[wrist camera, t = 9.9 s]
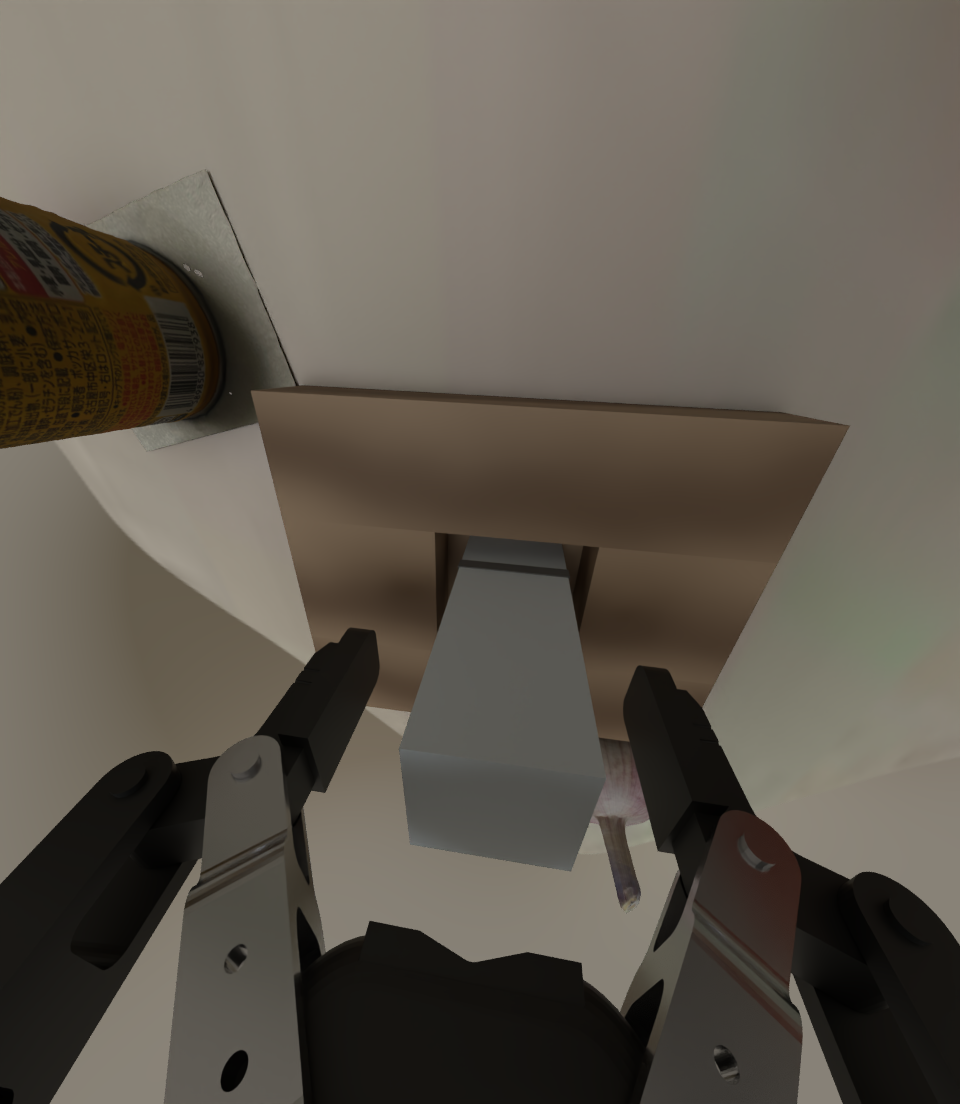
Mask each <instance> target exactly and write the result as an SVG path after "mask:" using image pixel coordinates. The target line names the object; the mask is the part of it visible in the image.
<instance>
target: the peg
mask: <svg viewBox="0 0 960 1104" xmlns="http://www.w3.org/2000/svg"><path fill="white" fill-rule="evenodd" d="M569 579H570V575H569V570H567V569H566V563H565V558H564V553H563V548H562V544H558V543H547V542H536V541H525V540H514V539H503V538H492V537H481V536H470V537H469V540H468V543H467V546H466V549H465V552H464V555H463V558H462V559H460V562H459V565H458V573H457V576H456V579H455V582H454V585H453V588H452V591H451V594H450V597H449V600H448V603H447V606H446V609H445V612H444V615H443V618H442V621H441V624H440V627H439V630H438V633H437V636H436V639H435V642H434V645H433V648H432V651H431V654H430V657H429V660H428V663H427V666H426V669H425V672H424V675H423V678H422V681H421V684H420V687H419V690H418V693H417V696H416V699H415V702H414V705H413V708H412V711H411V714H410V717H409V720H408V723H407V726H406V729H405V732H404V735H403V738H402V741H401V744H400V747H399V752H400V761H401V770H402V778H403V786H404V796H405V804H406V813H407V822H408V830H409V838H410V844H411V845H417V846H422V847H428V848H434V849H441V850H446V851H452V852H458V853H464V854H470V855H476V856H482V857H488V858H494V859H500V860H506V861H512V862H518V863H523V864H529V865H535V866H541V867H547V868H553V869H559V870H565V871H571V870H572V867H573V864H574V862H575V859H576V856H577V854H578V851H579V849H580V846H581V843H582V841H583V838H584V836H585V833H586V830H587V828H588V825H589V823H590V820H591V817H592V815H593V812H594V809H595V807H596V804H597V802H598V799H599V796H600V794H601V791H602V788H603V786H604V783H605V781H606V774H605V769H604V764H603V758H602V753H601V748H600V743H599V737H598V732H597V727H596V722H595V716H594V711H593V706H592V700H591V695H590V690H589V685H588V679H587V674H586V669H585V664H584V658H583V653H582V648H581V642H580V637H579V632H578V627H577V621H576V616H575V611H574V606H573V600H572V595H571V590H570V584H569Z"/></svg>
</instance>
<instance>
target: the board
mask: <svg viewBox="0 0 960 1104" xmlns="http://www.w3.org/2000/svg"><path fill="white" fill-rule="evenodd" d="M251 394H252V398H253V402H254V406H255V410H256V414H257V418H258V422H259V426H260V430H261V434H262V438H263V442H264V446H265V451H266V455H267V459H268V463H269V467H270V471H271V475H272V479H273V483H274V487H275V491H276V495H277V499H278V503H279V507H280V511H281V515H282V519H283V523H284V527H285V531H286V535H287V539H288V543H289V547H290V551H291V555H292V559H293V563H294V567H295V571H296V575H297V579H298V583H299V587H300V591H301V595H302V599H303V603H304V607H305V611H306V615H307V619H308V623H309V627H310V631H311V635H312V639H313V643H314V647H315V651H316V652H317V651H319V650H320V649H321V648H323V647H324V646H325V645H327V644H328V643H329V642H334V643H338V642H339V641H340V639H341V638H342V636H343V635H344V633H345V632H346V631H347V629H348V628H350V627H352V628H360V629H368V630H374V631H375V633H376V638H377V646H378V654H379V662H380V670H379V676H378V680H377V683H376V685H375V687H374V689H373V692H372V694H371V696H370V698H369V700H368V702H367V704H366V706H370V707H377V708H385V709H392V710H399V711H407V712H411V711H412V708H413V705H414V702H415V699H416V696H417V693H418V690H419V687H420V684H421V681H422V678H423V675H424V672H425V669H426V666H427V663H428V660H429V657H430V654H431V651H432V648H433V645H434V642H435V639H436V636H437V633H438V630H439V627H440V624H441V621H442V618H443V615H444V612H445V609H446V606H447V603H448V600H449V597H450V594H451V591H452V588H453V585H454V582H455V579H456V576H457V573H458V565H459V562H460V559H462V558H463V555H464V552H465V549H466V546H467V543H468V540H469V537H470V536H481V537H492V538H503V539H514V540H525V541H536V542H547V543H558V544H562V548H563V553H564V558H565V563H566V569H567V570H569V575H570V579H569V584H570V590H571V595H572V600H573V606H574V611H575V616H576V621H577V627H578V632H579V637H580V642H581V648H582V653H583V658H584V664H585V669H586V674H587V679H588V685H589V690H590V695H591V700H592V706H593V711H594V716H595V722H596V727H597V732H598V737H599V738H606V739H613V740H621V741H628V742H629V738H628V734H627V730H626V726H625V722H624V717H623V702H624V698H625V695H626V693H627V690H628V688H629V685H630V682H631V680H632V677H633V675H634V672H635V670H636V668H637V666H639V665H642V666H649V667H657V668H665V669H667V670H668V671H669V672H670V674H671V676H672V678H673V681H674V683H675V685H676V687H677V689H681V690H687V691H688V693H689V694H690V695H691V696H692V697H693V698H694V699H695V700H696V701H697V702H698V704H699V705H700V706H701V707H703V705H704V703H705V701H706V699H707V697H708V695H709V693H710V691H711V689H712V687H713V686H714V684H715V682H716V680H717V678H718V676H719V674H720V672H721V670H722V668H723V667H724V665H725V663H726V661H727V659H728V657H729V655H730V653H731V651H732V649H733V647H734V646H735V644H736V642H737V640H738V638H739V636H740V634H741V632H742V630H743V628H744V627H745V625H746V623H747V621H748V619H749V617H750V615H751V613H752V611H753V609H754V607H755V606H756V604H757V602H758V600H759V598H760V596H761V594H762V592H763V590H764V588H765V587H766V585H767V583H768V581H769V579H770V577H771V575H772V573H773V571H774V569H775V568H776V566H777V564H778V562H779V560H780V558H781V556H782V554H783V552H784V550H785V548H786V547H787V545H788V543H789V541H790V539H791V537H792V535H793V533H794V531H795V529H796V528H797V526H798V524H799V522H800V520H801V518H802V516H803V514H804V512H805V510H806V508H807V507H808V505H809V503H810V501H811V499H812V497H813V495H814V493H815V491H816V489H817V488H818V486H819V484H820V482H821V480H822V478H823V476H824V474H825V472H826V470H827V468H828V467H829V465H830V463H831V461H832V459H833V457H834V455H835V453H836V451H837V449H838V448H839V446H840V444H841V442H842V440H843V438H844V436H845V434H846V432H847V430H848V428H849V427H850V426H848V425H843V424H838V423H833V422H828V421H823V420H818V419H812V418H807V417H802V416H797V415H792V414H787V413H781V412H763V411H746V410H728V409H710V408H693V407H675V406H657V405H640V404H622V403H604V402H587V401H569V400H551V399H534V398H516V397H498V396H481V395H463V394H445V393H428V392H410V391H392V390H375V389H357V388H339V387H322V386H304V385H302V386H292V387H282V388H272V389H262V390H252V391H251Z"/></svg>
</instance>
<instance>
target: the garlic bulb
mask: <svg viewBox="0 0 960 1104" xmlns="http://www.w3.org/2000/svg"><path fill="white" fill-rule="evenodd" d="M599 743H600V748H601V753H602V758H603V764H604V769H605V774H606V781H605V783H604V786H603V788H602V791H601V794H600V796H599V799H598V802H597V804H596V807H595V809H594V812H593V815H592V817H591V820H590V823H595V824H599V825H600V828H601V831H602V834H603V838H604V842H605V846H606V849H607V853H608V857H609V861H610V865H611V870H612V874H613V878H614V882H615V887H616V890H617V896H618V899H619V902H620V906H621V908H622V909H623V910H624V911H625V912H626V913H628V912H630V911H632V910H633V909H635V908H636V907H637V905H638V904H639V901H640V896H641V891H640V887H639V883H638V881H637V878H636V874H635V870H634V867H633V863H632V859H631V855H630V851H629V848H628V844H627V840H626V835H625V827H626V826H629V825H634V824H639V823H643V822H645V821H647V820H648V819H649V815H648V811H647V807H646V803H645V799H644V796H643V792H642V788H641V784H640V780H639V776H638V772H637V769H636V765H635V761H634V757H633V753H632V749H631V745H630V742H628V741H621V740H613V739H606V738H599Z"/></svg>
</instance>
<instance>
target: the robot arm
mask: <svg viewBox="0 0 960 1104" xmlns="http://www.w3.org/2000/svg"><path fill="white" fill-rule="evenodd" d="M379 670H380V662H379V654H378V646H377V638H376V633H375V631H374V630H368V629H360V628H352V627H350V628H348V629H347V631H346V632H345V633H344V635H343V636H342V638H341V639H340V641H339V642H338V643H334V642H329V643H328V644H327V645H325V646H324V647H323V648H321V649H320V650H319V651H317V652H316V653H315V654H314V655H313V656H312V658H311V659H310V661H309V662H308V663H307V665H306V666H305V667H304V671H302V672H301V673H300V674H299V676H298V677H297V679H296V681H295V683H293V684H292V685H291V687H290V688H289V690H288V691H287V692H286V694H285V695H284V697H283V698H282V699H281V701H280V702H279V704H278V705H277V706H276V708H275V709H274V710H273V712H272V713H271V715H270V716H269V717H268V719H267V720H266V721H265V723H264V724H263V726H262V727H261V728H260V730H259V731H258V732H257V733H256V734H255V735H254V736H253V737H249V738H246V739H244V740H241V741H239V742H238V743H236V744H234V745H233V746H231V747H230V748H228V749H227V750H226V751H225V752H224V753H223V754H222V755H221V756H217V757H213V758H208V759H201V760H195V761H190V762H184V763H178V764H174V762H173V760H172V759H171V757H170V756H169V755H168V754H166V753H164V752H160V751H152V752H146V753H142V754H139V755H137V756H134V757H132V758H130V759H127V760H126V761H124V762H122V763H121V764H119V765H117V766H116V767H114V768H113V769H112V770H110V771H109V772H108V773H107V774H106V775H104V776H103V777H102V778H101V779H100V780H99V782H97V783H96V784H95V785H94V787H93V788H92V789H91V790H90V791H89V792H88V793H87V794H86V795H85V796H84V797H83V798H82V799H81V800H80V801H79V802H78V803H77V804H76V805H75V806H74V808H73V809H72V810H71V811H70V812H69V813H68V814H67V815H66V816H65V817H64V818H63V819H62V820H61V821H60V822H59V823H58V824H57V825H56V826H55V828H54V829H53V830H52V831H51V832H50V833H49V834H48V835H47V836H46V837H45V838H44V839H43V840H42V841H41V842H40V843H39V844H38V845H37V846H36V847H35V848H34V849H33V850H32V852H31V853H30V854H29V855H28V856H27V857H26V858H25V859H24V860H23V861H22V862H21V863H20V864H19V865H18V866H17V867H16V868H15V869H14V870H13V872H12V873H11V874H10V875H9V876H8V877H7V878H6V879H5V880H4V881H3V882H2V883H1V884H0V1104H50V1102H51V1100H52V1098H53V1097H54V1095H55V1094H56V1092H57V1090H58V1089H59V1087H60V1085H61V1084H62V1082H63V1081H64V1079H65V1077H66V1076H67V1074H68V1072H69V1071H70V1069H71V1067H72V1066H73V1064H74V1062H75V1061H76V1059H77V1058H78V1056H79V1054H80V1053H81V1051H82V1049H83V1048H84V1046H85V1044H86V1043H87V1041H88V1039H89V1038H90V1036H91V1034H92V1033H93V1031H94V1030H95V1028H96V1026H97V1025H98V1023H99V1021H100V1020H101V1018H102V1016H103V1015H104V1013H105V1012H106V1010H107V1008H108V1006H109V1005H110V1003H111V1002H112V1000H113V998H114V997H115V995H116V993H117V992H118V990H119V989H120V987H121V985H122V983H123V982H124V980H125V979H126V977H127V975H128V974H129V972H130V970H131V969H132V967H133V965H134V964H135V962H136V960H137V959H138V957H139V956H140V954H141V952H142V951H143V949H144V947H145V946H146V944H147V942H148V941H149V939H150V937H151V936H152V934H153V933H154V931H155V929H156V928H157V926H158V924H159V923H160V921H161V919H162V918H163V916H164V915H165V913H166V911H167V910H168V908H169V906H170V905H171V903H172V901H173V900H174V898H175V896H176V895H177V893H178V891H179V890H180V888H181V886H182V885H183V883H184V882H185V880H186V878H187V877H188V875H189V873H190V872H191V870H192V869H193V867H194V865H195V864H196V862H197V860H198V859H200V858H202V865H201V874H200V879H199V882H198V883H197V885H195V886H194V887H192V888H191V890H190V892H189V893H188V896H187V899H186V903H185V908H184V915H183V924H182V935H181V944H180V953H179V963H178V973H177V982H176V992H175V1002H174V1012H173V1021H172V1031H171V1041H170V1051H169V1060H168V1070H167V1079H166V1089H165V1099H164V1104H797V1097H798V1086H799V1074H800V1063H801V1052H802V1037H803V1033H802V1021H801V1016H800V1013H799V1010H798V1009H797V1007H796V1006H795V1005H794V1004H792V1002H791V1000H790V997H789V982H790V974H791V973H792V974H793V976H794V978H795V981H796V984H797V986H798V989H799V991H800V994H801V996H802V999H803V1002H804V1005H805V1007H806V1010H807V1012H808V1015H809V1017H810V1020H811V1023H812V1025H813V1028H814V1030H815V1033H816V1035H817V1038H818V1041H819V1043H820V1046H821V1049H822V1051H823V1053H824V1056H825V1059H826V1061H827V1064H828V1067H829V1069H830V1071H831V1074H832V1077H833V1080H834V1082H835V1085H836V1087H837V1090H838V1092H839V1095H840V1098H841V1100H842V1102H843V1104H960V945H959V944H958V942H957V941H956V939H955V938H954V936H953V935H952V933H951V932H950V931H949V930H948V928H947V927H946V925H945V924H944V923H943V922H942V921H941V919H940V918H939V917H938V916H937V915H936V914H935V913H934V912H933V911H932V910H931V909H930V908H929V907H928V906H927V905H926V904H925V903H924V902H923V901H922V900H921V899H920V898H918V897H917V896H916V895H915V894H913V893H912V892H911V891H910V890H908V889H907V888H905V887H904V886H902V885H901V884H899V883H898V882H896V881H894V880H892V879H891V878H888V877H886V876H884V875H881V874H878V873H874V872H862V873H859V874H858V875H856V876H855V877H853V878H852V879H848V878H846V877H844V876H842V875H839V874H837V873H835V872H833V871H831V870H829V869H827V868H825V867H822V866H821V865H819V864H816V863H814V862H812V861H810V860H808V859H806V858H804V857H802V856H800V855H798V854H796V853H795V852H793V851H792V850H791V849H790V848H789V846H788V845H787V843H786V842H785V841H784V839H783V838H782V837H781V836H780V835H779V834H778V833H777V832H776V831H775V830H774V829H773V828H772V827H771V826H769V825H768V824H767V823H765V822H764V821H762V820H761V819H759V818H758V817H757V816H756V815H755V814H754V812H753V810H752V808H751V806H750V804H749V802H748V800H747V798H746V796H745V794H744V792H743V790H742V788H741V786H740V784H739V782H738V780H737V778H736V776H735V774H734V772H733V770H732V768H731V766H730V764H729V762H728V759H727V757H726V755H725V753H724V751H723V749H722V747H721V746H719V744H718V742H719V741H718V739H717V737H716V735H715V733H714V731H713V730H712V729H711V725H710V723H709V721H708V719H707V717H706V715H705V713H704V711H703V709H702V707H701V706H700V705H699V704H698V702H697V701H696V700H695V699H694V698H693V697H692V696H691V695H690V694H689V693H688V691H687V690H681V689H677V687H676V685H675V683H674V681H673V678H672V676H671V674H670V672H669V671H668V670H667V669H665V668H657V667H649V666H642V665H639V666H637V668H636V670H635V672H634V675H633V677H632V680H631V682H630V685H629V688H628V690H627V693H626V695H625V698H624V702H623V717H624V722H625V726H626V730H627V734H628V738H629V742H630V745H631V749H632V753H633V757H634V761H635V765H636V769H637V772H638V776H639V780H640V784H641V788H642V792H643V796H644V799H645V803H646V807H647V811H648V815H649V819H650V823H651V826H652V830H653V834H654V838H655V842H656V846H657V849H658V851H660V852H666V853H672V854H675V857H676V860H677V863H678V867H679V870H678V871H677V873H676V876H675V878H674V881H673V884H672V887H671V889H670V892H669V894H668V897H667V900H666V903H665V905H664V908H663V911H662V913H661V916H660V919H659V921H658V924H657V927H656V930H655V932H654V935H653V938H652V940H651V943H650V946H649V948H648V951H647V953H646V955H645V958H644V960H643V962H642V963H641V965H640V967H639V969H638V971H637V972H636V974H635V976H634V979H633V981H632V983H631V985H630V987H629V990H628V992H627V995H626V997H625V1000H624V1003H623V1005H622V1008H621V1011H620V1012H619V1011H618V1009H617V1008H616V1007H615V1006H614V1005H613V1004H612V1003H611V1002H610V1001H609V1000H608V999H607V998H606V997H605V996H604V995H603V994H601V993H600V992H599V991H598V990H597V989H596V988H594V987H593V986H591V984H589V983H587V982H586V981H584V980H583V977H582V976H583V975H582V964H581V963H579V962H574V961H568V960H564V959H559V958H554V957H549V956H544V955H539V954H534V953H529V952H526V953H521V954H516V955H511V956H506V957H501V958H495V959H491V960H485V961H480V962H469V961H466V960H465V959H463V958H462V957H460V956H459V955H457V954H455V953H454V952H452V951H451V950H449V949H447V948H446V947H444V946H443V945H441V944H440V943H438V942H436V941H435V940H433V939H432V938H430V937H429V936H427V935H426V934H424V933H422V932H421V931H418V930H413V929H408V928H403V927H398V926H393V925H388V924H383V923H378V922H373V921H370V922H369V925H368V928H367V932H366V935H365V936H360V937H357V938H354V939H351V940H348V941H346V942H343V943H342V944H340V945H338V946H336V947H334V948H332V949H331V950H329V951H328V952H325V944H324V937H323V930H322V924H321V918H320V913H319V909H318V904H317V900H316V896H315V891H314V885H313V878H312V871H311V863H310V855H309V847H308V839H307V831H306V824H305V816H304V809H303V806H304V804H305V802H306V800H307V798H308V796H309V794H310V792H311V791H317V792H323V793H325V792H326V790H327V788H328V786H329V783H330V781H331V779H332V777H333V775H334V773H335V770H336V768H337V766H338V764H339V762H340V760H341V758H342V756H343V753H344V751H345V749H346V747H347V745H348V743H349V741H350V738H351V736H352V734H353V732H354V729H355V728H356V726H357V724H358V721H359V719H360V717H361V715H362V713H363V711H364V709H365V707H366V704H367V702H368V700H369V698H370V696H371V694H372V692H373V689H374V687H375V685H376V683H377V680H378V676H379Z"/></svg>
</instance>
